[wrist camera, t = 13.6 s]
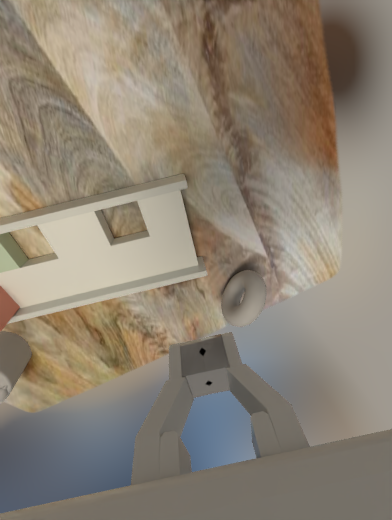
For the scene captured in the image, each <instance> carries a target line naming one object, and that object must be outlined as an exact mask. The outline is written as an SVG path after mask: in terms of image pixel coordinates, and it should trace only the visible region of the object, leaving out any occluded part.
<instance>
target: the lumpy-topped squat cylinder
mask: <svg viewBox="0 0 392 520" xmlns="http://www.w3.org/2000/svg"><path fill="white" fill-rule="evenodd" d="M31 355H32V352H31V349H30V346H29V344H28V343H27V342H26V341H25V340H24V339H23V338H22V337H20V336H19V335H17V334H14V333H11V332H6V331H0V404H1V403H3V401H4V400H5V399H6V398H7V397H8V396H9V394H10V392H11V391H12V389H13V387H14V386H15V384H16V382H17V380H18V379H19V377H20V375H21V374H22V372H23V370H24V368H25V367H26V365H27V363H28V362H29V360H30V358H31Z"/></svg>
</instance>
